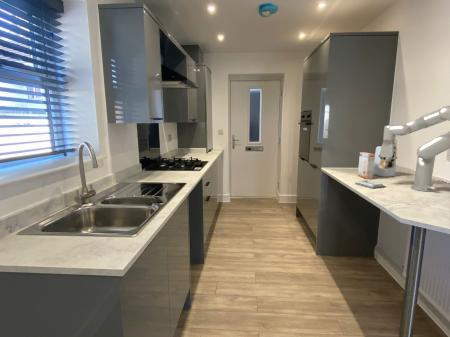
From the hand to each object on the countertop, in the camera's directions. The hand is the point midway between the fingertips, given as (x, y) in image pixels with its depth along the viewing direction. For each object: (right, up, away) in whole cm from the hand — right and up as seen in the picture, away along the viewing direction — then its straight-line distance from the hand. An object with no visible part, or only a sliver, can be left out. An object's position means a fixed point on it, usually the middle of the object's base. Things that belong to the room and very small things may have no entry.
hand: (386, 166), depth 193 cm
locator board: (-14, -14, -2) cm, 20 cm away
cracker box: (-2, -9, +26) cm, 28 cm away
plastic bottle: (+19, -8, +35) cm, 41 cm away
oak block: (0, -1, 0) cm, 1 cm away
